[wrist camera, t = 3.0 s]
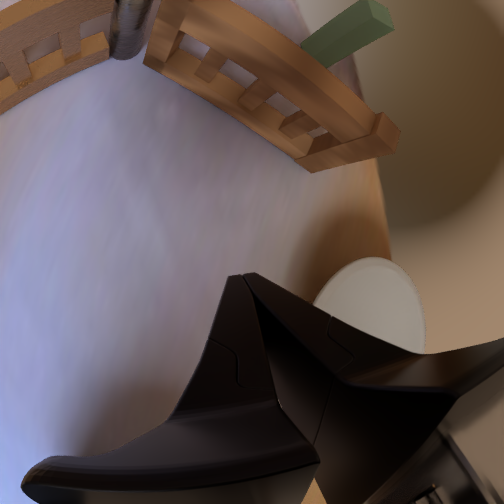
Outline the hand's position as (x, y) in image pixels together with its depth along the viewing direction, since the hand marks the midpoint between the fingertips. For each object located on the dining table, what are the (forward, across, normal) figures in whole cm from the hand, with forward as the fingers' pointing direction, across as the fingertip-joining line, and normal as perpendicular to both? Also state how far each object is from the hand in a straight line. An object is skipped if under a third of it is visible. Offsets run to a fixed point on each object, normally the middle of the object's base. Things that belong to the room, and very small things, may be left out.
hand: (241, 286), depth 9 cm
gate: (+15, -3, -5) cm, 16 cm away
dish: (+10, -10, +15) cm, 20 cm away
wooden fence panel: (+13, +12, -9) cm, 20 cm away
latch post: (+20, -11, -10) cm, 25 cm away
